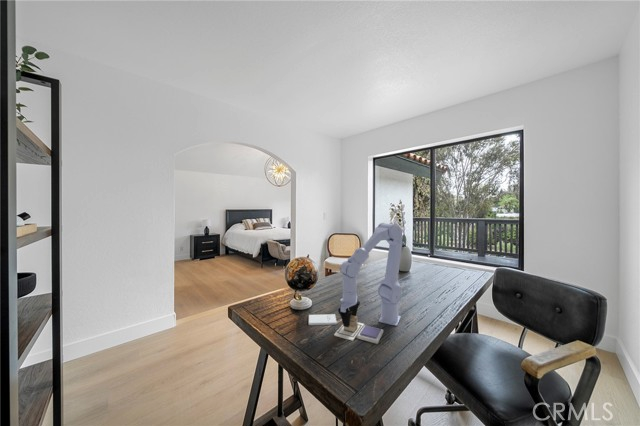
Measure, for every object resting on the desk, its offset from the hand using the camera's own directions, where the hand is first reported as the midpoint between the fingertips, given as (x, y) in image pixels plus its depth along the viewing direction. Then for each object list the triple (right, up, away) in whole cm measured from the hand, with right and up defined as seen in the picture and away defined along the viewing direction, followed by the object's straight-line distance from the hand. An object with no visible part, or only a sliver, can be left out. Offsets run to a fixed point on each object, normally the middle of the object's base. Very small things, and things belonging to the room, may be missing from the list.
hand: (349, 322), depth 99 cm
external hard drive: (-11, -4, +9) cm, 15 cm away
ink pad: (+8, -3, -4) cm, 10 cm away
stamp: (0, -3, 0) cm, 3 cm away
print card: (0, -3, 0) cm, 3 cm away
